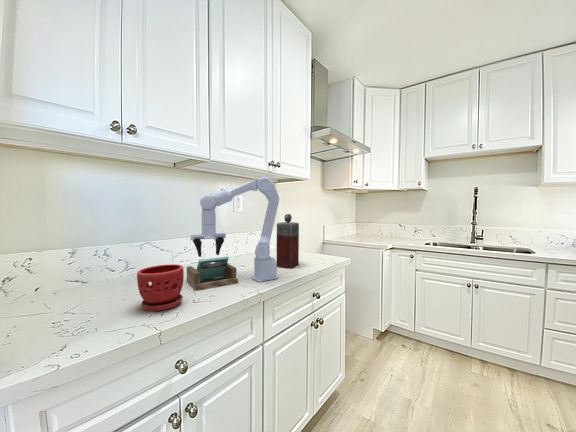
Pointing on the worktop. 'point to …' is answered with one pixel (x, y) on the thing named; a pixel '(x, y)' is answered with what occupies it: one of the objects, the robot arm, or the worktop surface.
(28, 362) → the worktop surface
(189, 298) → the worktop surface
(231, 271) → the hatch stand
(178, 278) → the plant pot
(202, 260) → the hatch flap
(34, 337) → the worktop surface
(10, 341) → the worktop surface
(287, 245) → the red lidded canister
